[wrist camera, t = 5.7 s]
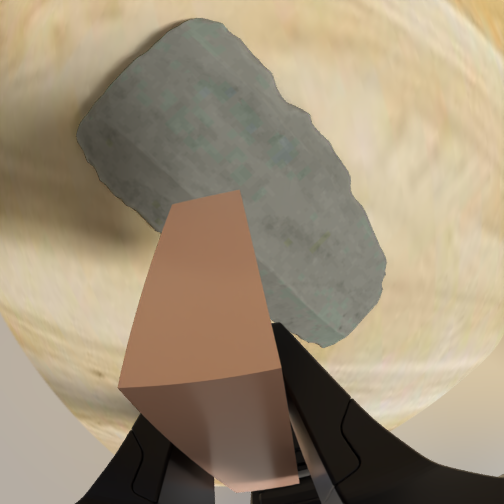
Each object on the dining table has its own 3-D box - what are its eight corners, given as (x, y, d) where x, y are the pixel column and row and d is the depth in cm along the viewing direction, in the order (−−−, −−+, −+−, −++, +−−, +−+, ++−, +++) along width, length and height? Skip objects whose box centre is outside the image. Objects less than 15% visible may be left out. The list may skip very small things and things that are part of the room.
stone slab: (200, 16, 11) (68, 150, 12) (204, -3, 8) (47, 157, 10) (400, 266, 21) (310, 348, 23) (421, 283, 19) (323, 371, 20)
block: (239, 189, 8) (281, 368, 3) (270, 349, 12) (299, 483, 7) (172, 204, 8) (117, 387, 3) (224, 358, 12) (236, 492, 7)
